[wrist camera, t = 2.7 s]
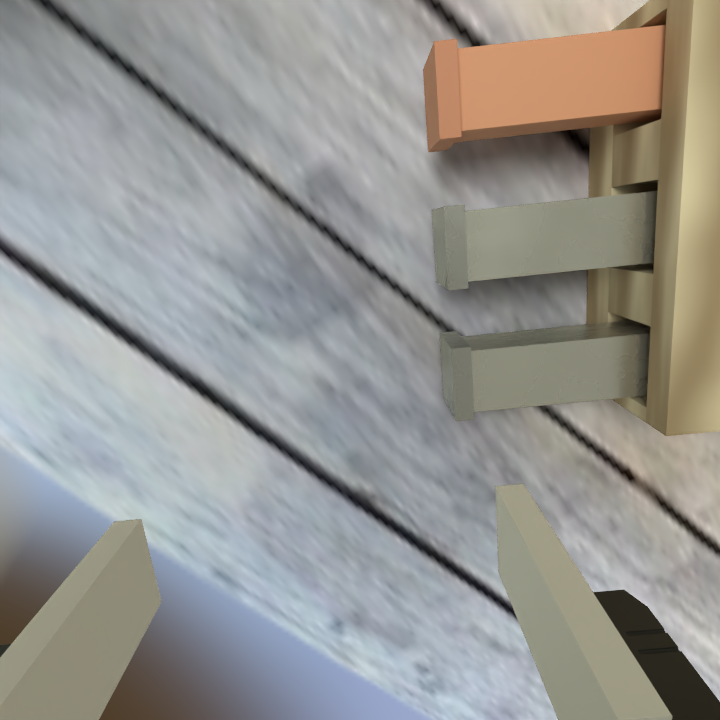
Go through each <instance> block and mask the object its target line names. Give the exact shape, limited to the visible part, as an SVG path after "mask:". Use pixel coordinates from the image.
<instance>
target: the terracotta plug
mask: <svg viewBox="0 0 720 720" xmlns="http://www.w3.org/2000/svg"><path fill="white" fill-rule="evenodd" d="M665 36H666V25H660V26H651V27H642V28H633V29H625V30H616V31H607V32H599V33H590V34H581V35H573V36H564V37H555V38H546V39H538V40H529V41H520V42H512V43H503V44H494V45H486V46H477V47H468V48H459V49H458V48H457V39H451V40H442V41H434V44H433V46H432V49H431V51H430V54H429V56H428V59H427V61H426V64H425V66H424V69H423V76H424V92H425V108H426V125H427V141H428V152H435V151H444V150H447V149H449V148H450V147H451V146H452V145H453V144H454V143H455V142H464V141H473V140H482V139H491V138H500V137H509V136H518V135H527V134H536V133H545V132H555V131H564V130H573V129H582V128H591V127H600V126H609V125H618V124H627V123H636V122H645V121H655V120H660V119H661V114H662V95H663V75H664V56H665Z"/></svg>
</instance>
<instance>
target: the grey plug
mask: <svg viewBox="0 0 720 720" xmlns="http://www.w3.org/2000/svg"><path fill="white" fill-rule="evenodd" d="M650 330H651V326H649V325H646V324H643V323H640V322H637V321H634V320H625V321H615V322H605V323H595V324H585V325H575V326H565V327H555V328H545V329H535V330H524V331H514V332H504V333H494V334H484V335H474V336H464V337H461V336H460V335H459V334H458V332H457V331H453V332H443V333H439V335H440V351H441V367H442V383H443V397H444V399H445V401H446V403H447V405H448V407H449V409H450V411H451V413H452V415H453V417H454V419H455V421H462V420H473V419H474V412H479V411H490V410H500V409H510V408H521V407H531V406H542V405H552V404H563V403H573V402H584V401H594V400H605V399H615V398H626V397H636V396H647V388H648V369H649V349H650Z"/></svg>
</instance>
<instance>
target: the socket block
mask: <svg viewBox="0 0 720 720" xmlns="http://www.w3.org/2000/svg"><path fill="white" fill-rule="evenodd" d="M660 25H666V36H665V56H664V75H663V95H662V114H661V119H660V120H655V121H645V122H636V123H627V124H618V125H609V126H600V127H591V128H590V149H589V198H594V197H604V196H613V195H623V194H632V193H642V192H651V191H658V193H657V212H656V232H655V251H654V263H645V264H636V265H626V266H616V267H606V268H597V269H587V324H595V323H605V322H615V321H625V320H634V321H637V322H640V323H643V324H646V325H649V326H651V330H650V349H649V369H648V388H647V396H636V397H626V398H615V399H612V400H614V401H615V402H617V403H618V404H620V405H621V406H623V407H624V408H626V409H627V410H629V411H630V412H631V413H633V414H634V415H636V416H637V417H639V418H640V419H642V420H643V421H645V422H646V423H648V424H649V425H651V426H652V427H654V428H655V429H657V430H658V431H660V432H661V433H663V434H664V435H665V436H672V435H682V434H693V433H704V432H714V431H720V0H650V1H649V2H647V3H646V4H645V5H643V6H642V7H641V8H640V9H638V10H637V11H636V12H635V13H633V14H632V15H631V16H630V17H628V18H627V19H626V20H624V21H623V22H622V23H621V24H619V25H618V26H617V27H616V28H614V29H613V30H612V31H616V30H625V29H633V28H642V27H651V26H660Z"/></svg>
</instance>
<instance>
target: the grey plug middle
mask: <svg viewBox="0 0 720 720" xmlns="http://www.w3.org/2000/svg"><path fill="white" fill-rule="evenodd" d="M657 193H658V191H651V192H642V193H632V194H623V195H613V196H604V197H594V198H585V199H576V200H566V201H557V202H547V203H538V204H529V205H519V206H510V207H500V208H491V209H482V210H472V211H465V205H457V206H447V207H441V208H437V209H434V210H432V222H433V238H434V254H435V270H436V282H437V283H438V284H440V285H441V286H443V287H444V288H445V289H447V290H458V289H468V282H470V281H479V280H489V279H499V278H509V277H519V276H528V275H538V274H548V273H558V272H567V271H577V270H587V269H597V268H606V267H616V266H626V265H636V264H645V263H654V251H655V232H656V212H657Z"/></svg>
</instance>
